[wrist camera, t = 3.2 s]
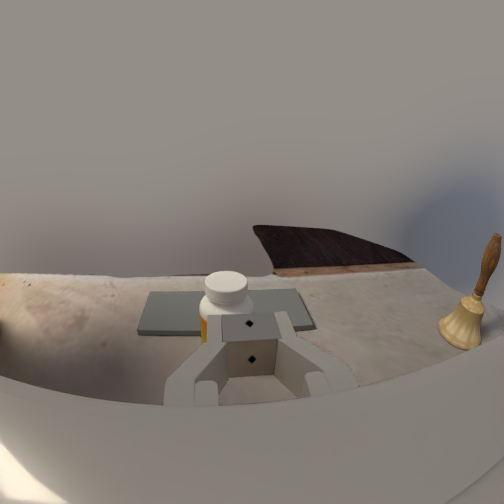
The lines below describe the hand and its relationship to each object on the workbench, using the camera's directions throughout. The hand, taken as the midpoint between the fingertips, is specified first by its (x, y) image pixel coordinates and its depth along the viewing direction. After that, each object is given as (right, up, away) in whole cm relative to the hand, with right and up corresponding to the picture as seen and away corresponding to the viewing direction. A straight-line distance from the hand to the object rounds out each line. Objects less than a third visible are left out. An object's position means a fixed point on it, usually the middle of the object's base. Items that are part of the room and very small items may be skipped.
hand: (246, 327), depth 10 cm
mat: (-3, -5, +26) cm, 27 cm away
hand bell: (+32, -10, +21) cm, 39 cm away
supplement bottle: (-2, -9, +19) cm, 21 cm away
